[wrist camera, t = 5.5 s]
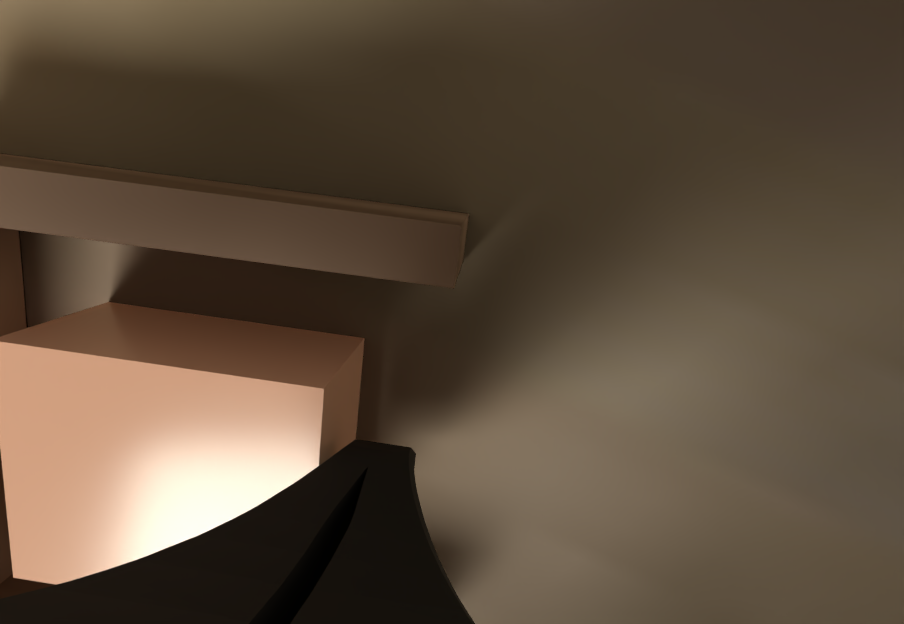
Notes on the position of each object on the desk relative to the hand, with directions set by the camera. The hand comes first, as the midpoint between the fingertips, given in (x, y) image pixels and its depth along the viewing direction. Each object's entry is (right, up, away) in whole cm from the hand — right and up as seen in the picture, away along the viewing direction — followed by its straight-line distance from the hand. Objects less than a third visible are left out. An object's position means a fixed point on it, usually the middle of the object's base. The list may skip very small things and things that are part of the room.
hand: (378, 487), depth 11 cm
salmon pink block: (-4, +1, +2) cm, 4 cm away
